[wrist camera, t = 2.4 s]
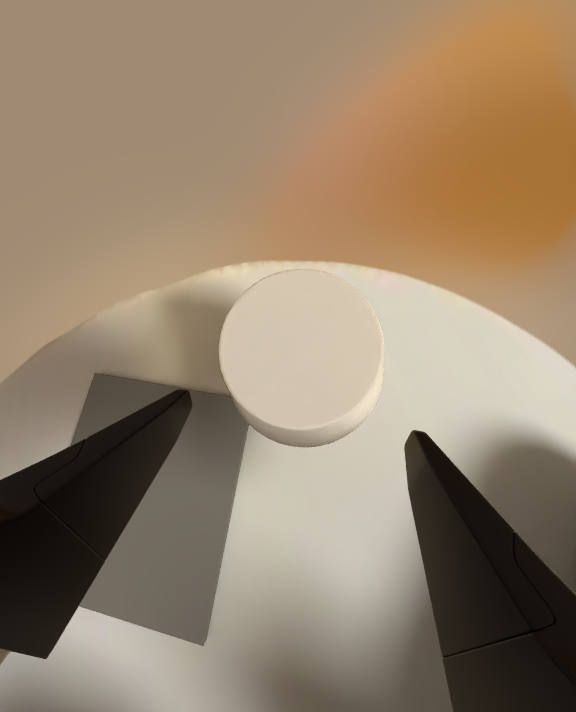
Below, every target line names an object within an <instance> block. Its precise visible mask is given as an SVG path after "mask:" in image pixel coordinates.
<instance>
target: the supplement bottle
mask: <svg viewBox="0 0 576 712" xmlns="http://www.w3.org/2000/svg"><path fill="white" fill-rule="evenodd" d="M218 356H219V365H220V369H221V373H222V377H223V379H224V381H225V384H226V386H227V388H228V389H229V391H230V394H231V397H232V400H233V402H234V404H235V406H236V408H237V409H238V411H239V412H240V414H241V416H242V417H243V418H244V419H245V420H246V422H247V423H248V424H249V425H251V426H252V427H253V428H254V429H255V430H256V431H258V432H259V433H260V434H262V435H264V436H265V437H267V438H269V439H271V440H273V441H275V442H278V443H281V444H284V445H289V446H294V447H316V446H321V445H325V444H329V443H332V442H335V441H337V440H339V439H341V438H343V437H344V436H346V435H348V434H349V433H351V432H352V431H354V430H355V429H356V428H357V427H358V426H359V425H360V424H361V423H362V422H363V421H364V420H365V419H366V418H367V417H368V416H369V414H370V412H371V411H372V409H373V408H374V406H375V404H376V402H377V400H378V397H379V394H380V391H381V387H382V383H383V375H384V363H383V357H384V340H383V334H382V329H381V325H380V322H379V320H378V318H377V316H376V314H375V312H374V309H373V308H372V306H371V304H370V303H369V302H368V301H367V300H366V298H365V297H364V296H363V295H362V294H361V293H360V292H359V291H358V290H357V289H356V288H355V287H353V286H352V285H351V284H349V283H348V282H346V281H345V280H343V279H341V278H339V277H337V276H334V275H332V274H329V273H326V272H322V271H317V270H310V269H295V270H287V271H283V272H278V273H276V274H273V275H270V276H268V277H266V278H263V279H262V280H260V281H258V282H257V283H255V284H254V285H252V286H251V287H250V288H248V289H247V290H246V291H245V292H244V293H243V294H242V295H241V296H240V297H239V298H238V299H237V301H236V302H235V303H234V305H233V306H232V307H231V309H230V310H229V312H228V314H227V316H226V318H225V320H224V323H223V326H222V329H221V333H220V338H219V345H218Z"/></svg>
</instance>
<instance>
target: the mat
mask: <svg viewBox="0 0 576 712" xmlns="http://www.w3.org/2000/svg"><path fill="white" fill-rule="evenodd" d="M177 389H182V388H176V387H171V386H165V385H159V384H154V383H148V382H142V381H137V380H131V379H126V378H120V377H114V376H109V375H103V374H97V373H95V374H94V377H93V380H92V383H91V386H90V390H89V393H88V396H87V399H86V402H85V405H84V408H83V411H82V414H81V417H80V420H79V423H78V426H77V429H76V432H75V435H74V438H73V441H72V444H71V446H72V445H74V444H76V443H78V442H79V441H81V440H83V439H86V438H87V437H89V436H91V435H93V434H95V433H96V432H98V431H100V430H102V429H104V428H106V427H108V426H110V425H111V424H113V423H115V422H117V421H119V420H121V419H123V418H125V417H126V416H128V415H130V414H132V413H134V412H136V411H138V410H140V409H141V408H143V407H145V406H147V405H149V404H151V403H153V402H155V401H156V400H158V399H160V398H162V397H164V396H166V395H168V394H170V393H171V392H173V391H175V390H177ZM185 390H188V389H185ZM188 391H189V392H190V395H191V400H192V410H191V412H190V414H189V416H188V418H187V420H186V423H185V425H184V427H183V429H182V431H181V433H180V436H179V438H178V440H177V442H176V443H175V445H174V447H173V449H172V450H171V452H170V454H169V455H168V457H167V459H166V460H165V462H164V464H163V465H162V467H161V469H160V470H159V472H158V474H157V475H156V477H155V479H154V480H153V482H152V484H151V485H150V487H149V489H148V490H147V492H146V494H145V495H144V497H143V499H142V500H141V502H140V504H139V505H138V507H137V509H136V510H135V512H134V514H133V515H132V517H131V519H130V521H129V522H128V524H127V526H126V527H125V529H124V531H123V532H122V534H121V536H120V537H119V539H118V541H117V542H116V544H115V546H114V547H113V549H112V551H111V552H110V554H109V556H108V557H107V559H106V560H105V563H104V564H103V566H102V568H101V569H100V571H99V573H98V574H97V576H96V578H95V579H94V581H93V583H92V584H91V586H90V588H89V589H88V591H87V593H86V595H85V596H84V598H83V600H82V601H81V603H80V605H79V606H80V607H83V608H86V609H89V610H93V611H96V612H99V613H102V614H105V615H108V616H111V617H114V618H118V619H121V620H124V621H127V622H130V623H133V624H136V625H139V626H143V627H146V628H149V629H152V630H155V631H158V632H161V633H164V634H168V635H171V636H174V637H177V638H180V639H183V640H186V641H189V642H193V643H196V644H199V645H202V646H203V645H204V643H205V641H206V639H207V634H208V629H209V623H210V618H211V613H212V608H213V603H214V598H215V593H216V588H217V583H218V578H219V573H220V568H221V562H222V557H223V552H224V547H225V542H226V537H227V532H228V527H229V522H230V517H231V512H232V507H233V501H234V496H235V491H236V486H237V481H238V476H239V471H240V466H241V461H242V456H243V451H244V446H245V440H246V435H247V430H248V425H249V424H248V423H247V422H246V420H245V419H244V418H243V417H242V416H241V414H240V412H239V411H238V409H237V408H236V406H235V404H234V402H233V400H232V397H227V396H222V395H216V394H210V393H205V392H199V391H193V390H188Z"/></svg>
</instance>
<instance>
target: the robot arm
mask: <svg viewBox="0 0 576 712" xmlns="http://www.w3.org/2000/svg"><path fill="white" fill-rule="evenodd" d="M191 410H192V400H191V395H190V392H189V391H188V390H185V389H177V390H175V391H173V392H171V393H170V394H168V395H166V396H164V397H162V398H160V399H158V400H156V401H155V402H153V403H151V404H149V405H147V406H145V407H143V408H141V409H140V410H138V411H136V412H134V413H132V414H130V415H128V416H126V417H125V418H123V419H121V420H119V421H117V422H115V423H113V424H111V425H110V426H108V427H106V428H104V429H102V430H100V431H98V432H96V433H95V434H93V435H91V436H89V437H87V438H86V439H83V440H81V441H79V442H78V443H76V444H74V445H72V446H70V447H68V448H66V449H64V450H62V451H60V452H58V453H56V454H54V455H52V456H50V457H48V458H46V459H44V460H42V461H40V462H38V463H36V464H34V465H31V466H29V467H27V468H25V469H23V470H21V471H19V472H16V473H14V474H12V475H10V476H8V477H6V478H4V479H1V480H0V665H1V664H2V662H3V661H4V660H5V658H6V657H7V656H8V654H9V653H10V651H12V652H17V653H21V654H25V655H30V656H34V657H39V658H43V659H46V658H47V657H48V656H49V654H50V653H51V651H52V650H53V648H54V646H55V645H56V643H57V641H58V640H59V638H60V636H61V635H62V633H63V631H64V630H65V628H66V626H67V625H68V623H69V621H70V620H71V618H72V616H73V615H74V613H75V611H76V610H77V608H78V606H79V605H80V603H81V601H82V600H83V598H84V596H85V595H86V593H87V591H88V589H89V588H90V586H91V584H92V583H93V581H94V579H95V578H96V576H97V574H98V573H99V571H100V569H101V568H102V566H103V564H104V563H105V560H106V559H107V557H108V556H109V554H110V552H111V551H112V549H113V547H114V546H115V544H116V542H117V541H118V539H119V537H120V536H121V534H122V532H123V531H124V529H125V527H126V526H127V524H128V522H129V521H130V519H131V517H132V515H133V514H134V512H135V510H136V509H137V507H138V505H139V504H140V502H141V500H142V499H143V497H144V495H145V494H146V492H147V490H148V489H149V487H150V485H151V484H152V482H153V480H154V479H155V477H156V475H157V474H158V472H159V470H160V469H161V467H162V465H163V464H164V462H165V460H166V459H167V457H168V455H169V454H170V452H171V450H172V449H173V447H174V445H175V443H176V442H177V440H178V438H179V436H180V433H181V431H182V429H183V427H184V425H185V423H186V420H187V418H188V416H189V414H190V412H191ZM405 460H406V471H407V482H408V490H409V496H410V501H411V506H412V511H413V516H414V521H415V525H416V530H417V535H418V540H419V545H420V550H421V555H422V560H423V564H424V569H425V574H426V579H427V584H428V589H429V594H430V599H431V603H432V608H433V613H434V618H435V623H436V628H437V633H438V638H439V643H440V647H441V652H442V656H443V657H444V658H443V663H444V668H445V673H446V678H447V682H448V687H449V692H450V697H451V702H452V707H453V712H576V595H575V594H574V593H573V592H572V591H571V590H570V589H569V588H568V587H567V586H566V585H565V584H564V583H563V582H562V581H561V580H560V579H559V578H558V577H557V576H556V575H555V574H554V573H553V572H552V571H551V570H550V569H549V568H548V567H547V566H546V565H545V564H544V562H543V561H542V560H541V559H540V558H539V557H538V556H537V555H536V554H535V553H534V552H533V551H532V550H531V548H530V547H529V546H528V545H527V544H526V543H525V542H524V541H523V540H522V539H521V537H520V536H519V535H518V534H517V533H516V532H514V530H513V529H512V528H511V527H510V525H509V524H508V523H507V522H506V521H505V520H504V519H503V518H502V517H501V515H500V514H499V513H498V512H497V511H496V510H495V509H494V508H493V507H492V506H491V504H490V503H489V502H488V501H487V500H486V499H485V498H484V497H483V496H482V494H481V493H480V492H479V491H478V490H477V489H476V488H475V487H474V486H473V485H472V483H471V482H470V481H469V480H468V479H467V478H466V477H465V476H464V475H463V473H462V472H461V471H460V470H459V469H458V468H457V467H456V466H455V465H454V463H453V462H452V461H451V460H450V459H449V458H448V457H447V456H446V455H445V454H444V452H443V451H442V450H441V449H440V448H439V447H438V446H437V445H436V444H435V442H434V441H433V440H432V439H431V438H430V437H429V436H428V435H427V434H426V433H425V432H422V431H417V430H413V431H412V432H411V433H410V435H409V437H408V439H407V441H406V443H405Z"/></svg>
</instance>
